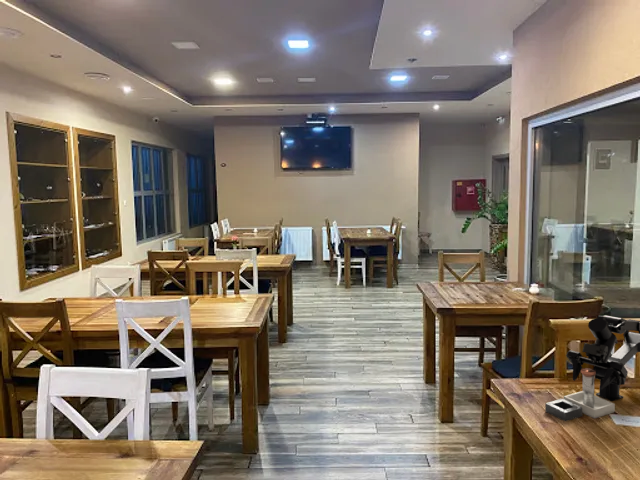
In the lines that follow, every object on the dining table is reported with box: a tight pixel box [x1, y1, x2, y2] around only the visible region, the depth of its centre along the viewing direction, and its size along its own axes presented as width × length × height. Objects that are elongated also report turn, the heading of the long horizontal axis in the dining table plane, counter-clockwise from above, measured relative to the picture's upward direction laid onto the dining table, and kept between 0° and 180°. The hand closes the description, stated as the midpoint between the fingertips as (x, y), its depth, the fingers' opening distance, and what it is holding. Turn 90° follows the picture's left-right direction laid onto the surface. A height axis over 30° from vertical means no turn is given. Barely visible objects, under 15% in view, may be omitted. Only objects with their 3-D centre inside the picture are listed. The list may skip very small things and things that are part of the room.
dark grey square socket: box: [544, 398, 583, 422], centre depth 163 cm, size 8×8×3 cm
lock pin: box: [580, 367, 596, 408], centre depth 166 cm, size 5×5×13 cm
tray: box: [563, 390, 616, 420], centre depth 166 cm, size 10×12×3 cm
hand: (586, 384), depth 165 cm, fingers open, 9 cm apart
